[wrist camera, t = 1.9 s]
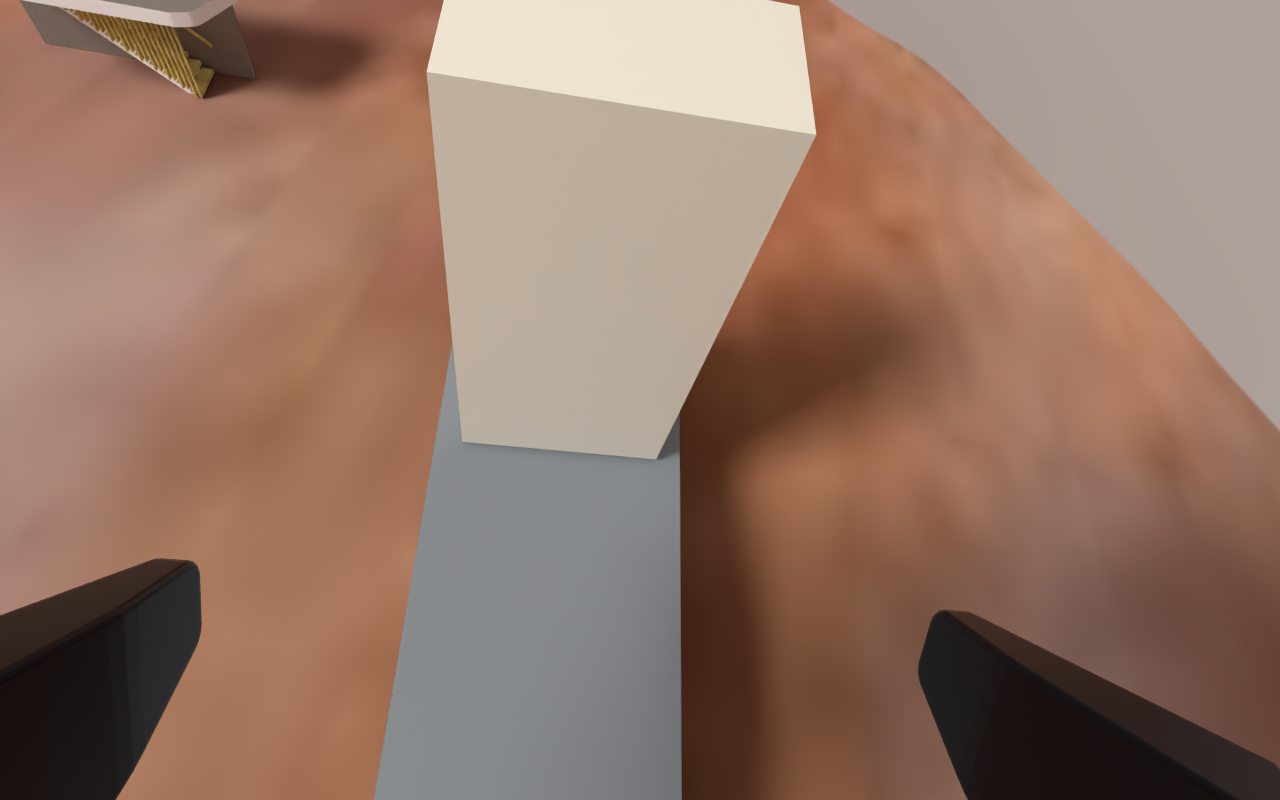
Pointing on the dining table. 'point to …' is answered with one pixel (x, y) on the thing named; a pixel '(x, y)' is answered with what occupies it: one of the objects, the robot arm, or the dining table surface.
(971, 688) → the robot arm
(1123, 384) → the dining table surface
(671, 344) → the stub
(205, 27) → the platform
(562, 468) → the grey flat block
